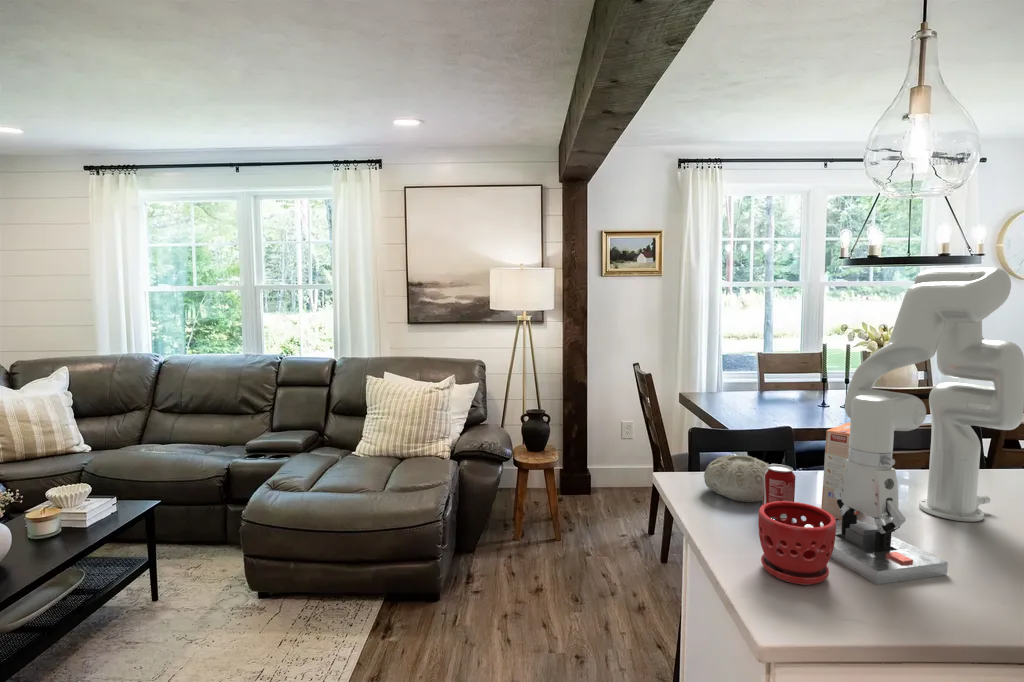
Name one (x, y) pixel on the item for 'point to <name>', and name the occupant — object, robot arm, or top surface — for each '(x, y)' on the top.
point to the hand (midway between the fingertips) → (865, 541)
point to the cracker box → (835, 467)
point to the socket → (887, 560)
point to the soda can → (778, 485)
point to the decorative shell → (736, 477)
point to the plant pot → (796, 541)
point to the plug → (862, 536)
